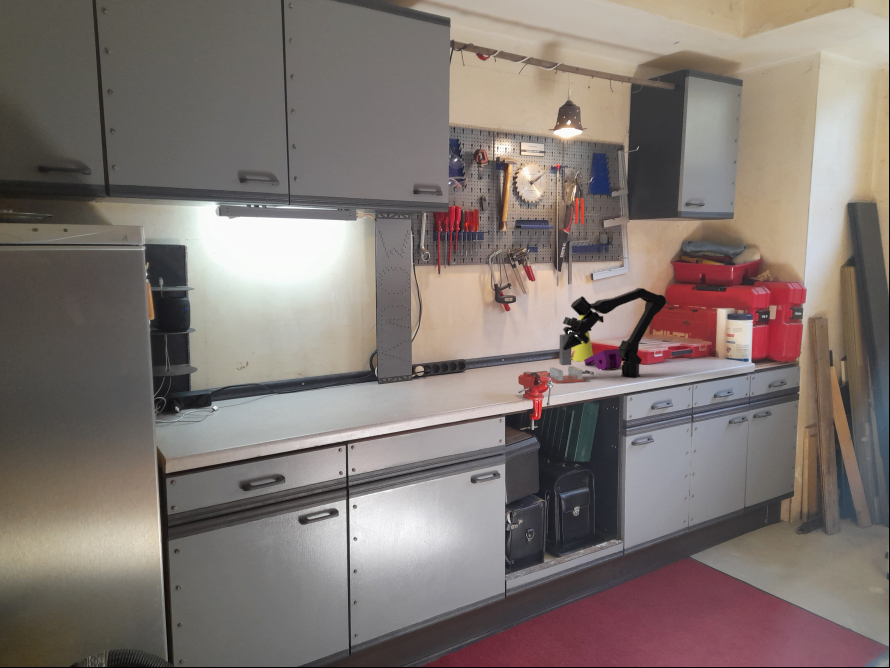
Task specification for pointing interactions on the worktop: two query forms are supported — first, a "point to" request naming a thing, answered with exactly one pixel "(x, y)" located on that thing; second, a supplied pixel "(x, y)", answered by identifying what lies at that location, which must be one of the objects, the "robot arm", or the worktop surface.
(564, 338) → the steel bar
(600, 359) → the mounting bracket
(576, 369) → the bench vise
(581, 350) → the cone
